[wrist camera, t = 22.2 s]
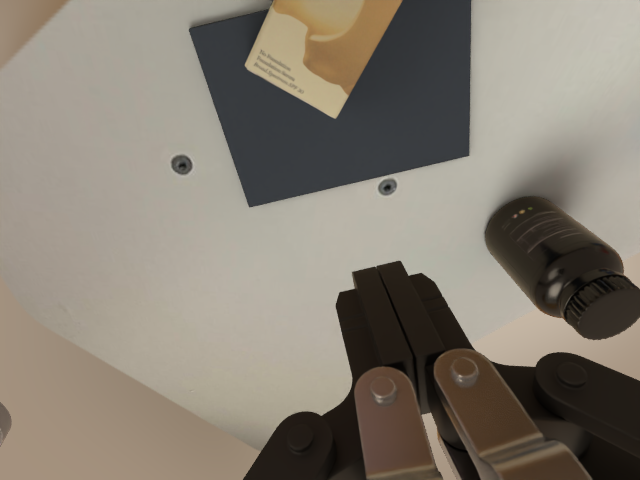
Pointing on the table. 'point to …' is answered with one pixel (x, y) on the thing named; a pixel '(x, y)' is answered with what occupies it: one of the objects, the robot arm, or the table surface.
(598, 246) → the supplement bottle
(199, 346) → the table surface
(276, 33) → the cosmetic box
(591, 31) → the table surface
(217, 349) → the table surface
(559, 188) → the table surface
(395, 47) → the mat
